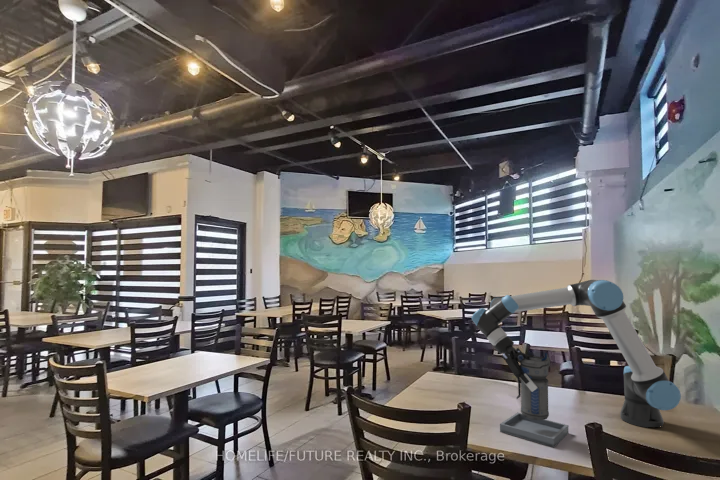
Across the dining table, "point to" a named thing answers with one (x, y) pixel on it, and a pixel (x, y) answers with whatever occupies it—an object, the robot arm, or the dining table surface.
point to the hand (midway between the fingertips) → (539, 387)
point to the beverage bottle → (537, 371)
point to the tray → (534, 429)
